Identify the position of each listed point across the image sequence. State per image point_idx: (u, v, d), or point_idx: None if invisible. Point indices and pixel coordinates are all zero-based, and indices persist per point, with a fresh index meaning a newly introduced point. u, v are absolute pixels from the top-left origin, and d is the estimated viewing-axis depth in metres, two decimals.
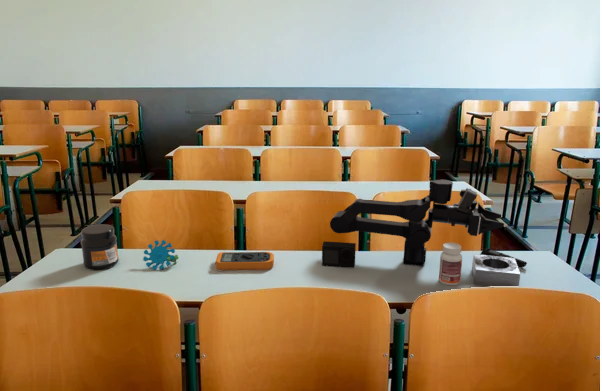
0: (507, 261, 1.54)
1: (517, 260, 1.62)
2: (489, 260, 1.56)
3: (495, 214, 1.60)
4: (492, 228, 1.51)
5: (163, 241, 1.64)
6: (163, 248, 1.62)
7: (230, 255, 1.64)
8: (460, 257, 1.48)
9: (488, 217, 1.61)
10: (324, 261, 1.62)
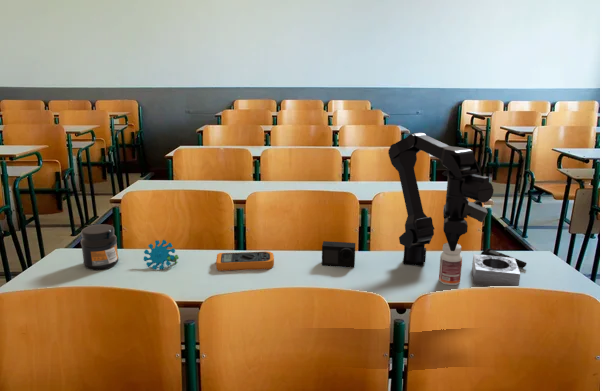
0: (507, 261, 1.54)
1: (517, 260, 1.62)
2: (489, 260, 1.56)
3: None
4: (449, 241, 1.44)
5: (163, 241, 1.64)
6: (163, 248, 1.63)
7: (230, 255, 1.64)
8: (460, 257, 1.48)
9: None
10: (324, 261, 1.63)
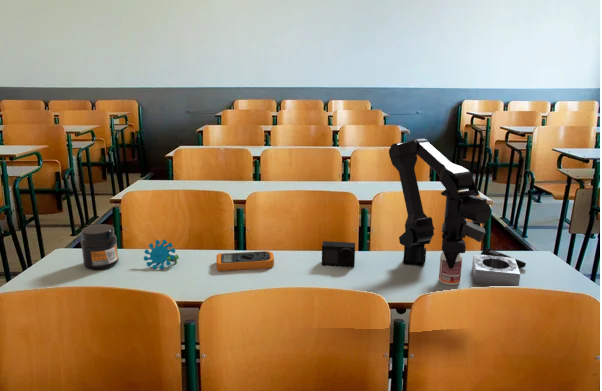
0: (507, 261, 1.54)
1: (516, 261, 1.61)
2: (489, 260, 1.56)
3: None
4: (447, 259, 1.46)
5: (164, 241, 1.64)
6: (163, 248, 1.63)
7: (229, 256, 1.64)
8: (460, 257, 1.48)
9: None
10: (324, 261, 1.63)
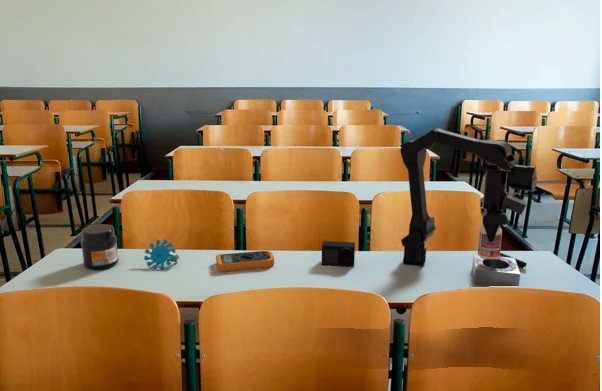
0: (507, 261, 1.54)
1: (517, 260, 1.61)
2: (489, 260, 1.56)
3: None
4: (487, 232, 1.45)
5: (164, 241, 1.64)
6: (164, 248, 1.63)
7: (229, 256, 1.63)
8: (500, 230, 1.47)
9: None
10: (323, 260, 1.63)
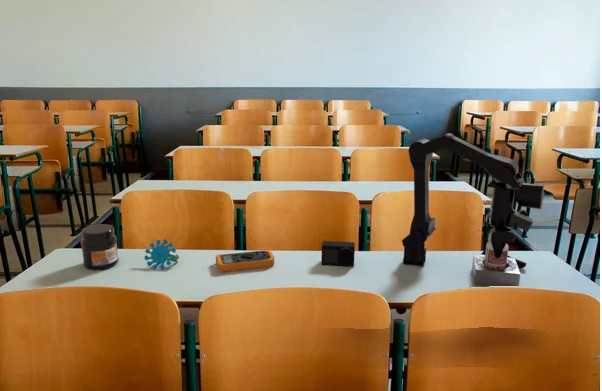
0: (507, 261, 1.54)
1: (517, 261, 1.61)
2: None
3: None
4: (495, 249, 1.47)
5: (165, 240, 1.64)
6: (164, 247, 1.63)
7: (229, 256, 1.63)
8: (507, 247, 1.49)
9: None
10: (323, 260, 1.63)
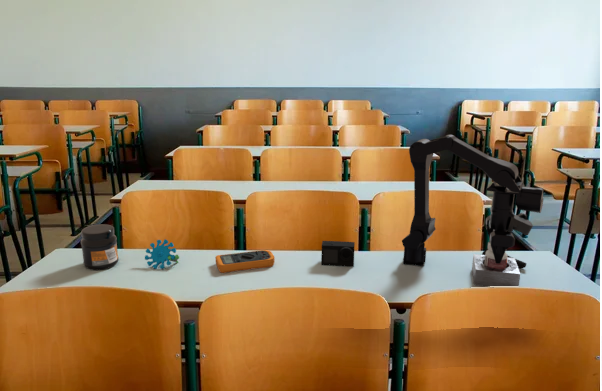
0: (507, 261, 1.54)
1: (517, 261, 1.61)
2: None
3: None
4: (495, 254, 1.46)
5: (165, 240, 1.64)
6: (164, 247, 1.63)
7: (229, 257, 1.63)
8: (506, 255, 1.50)
9: None
10: (323, 260, 1.63)
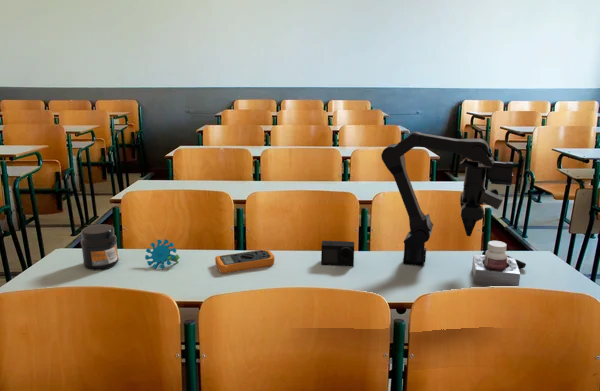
0: (507, 261, 1.54)
1: (516, 261, 1.61)
2: None
3: None
4: (466, 227, 1.52)
5: (165, 240, 1.64)
6: (165, 247, 1.63)
7: (229, 257, 1.63)
8: (506, 255, 1.50)
9: None
10: (323, 260, 1.63)
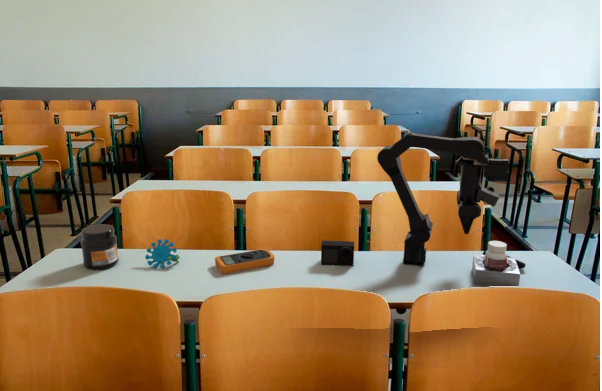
0: (507, 261, 1.54)
1: (516, 261, 1.61)
2: None
3: None
4: (463, 225, 1.52)
5: (166, 240, 1.64)
6: (165, 247, 1.63)
7: (229, 258, 1.62)
8: (506, 255, 1.50)
9: None
10: (323, 260, 1.63)
